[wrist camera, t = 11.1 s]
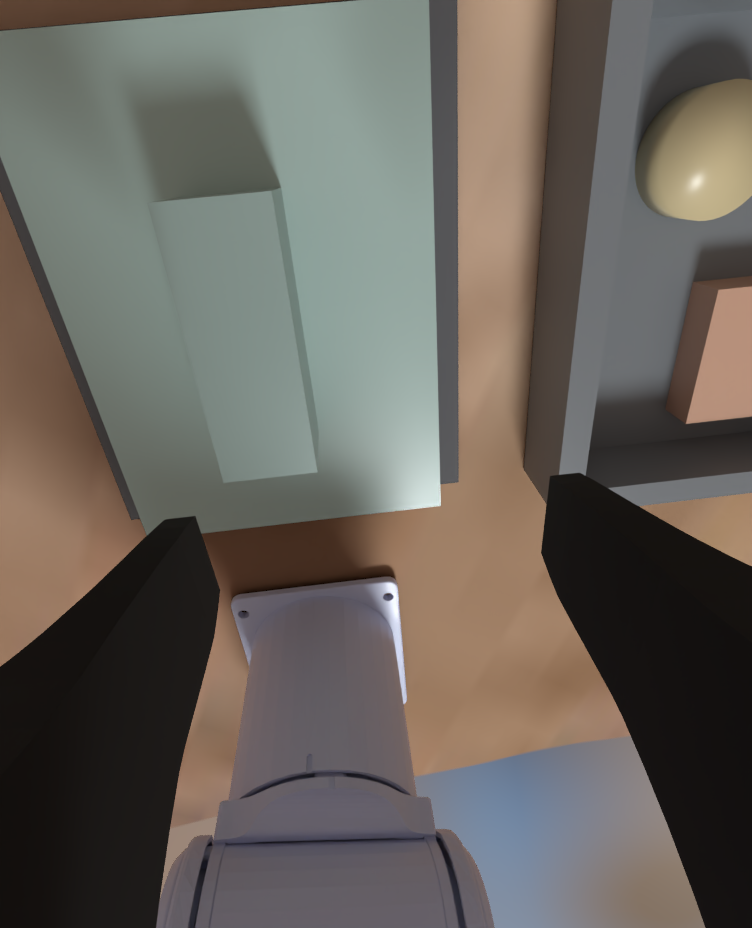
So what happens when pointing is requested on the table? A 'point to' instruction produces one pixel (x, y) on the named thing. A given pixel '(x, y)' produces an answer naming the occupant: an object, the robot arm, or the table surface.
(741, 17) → the storage box
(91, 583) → the table surface
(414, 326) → the lid
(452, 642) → the table surface
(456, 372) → the mat
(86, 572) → the table surface
